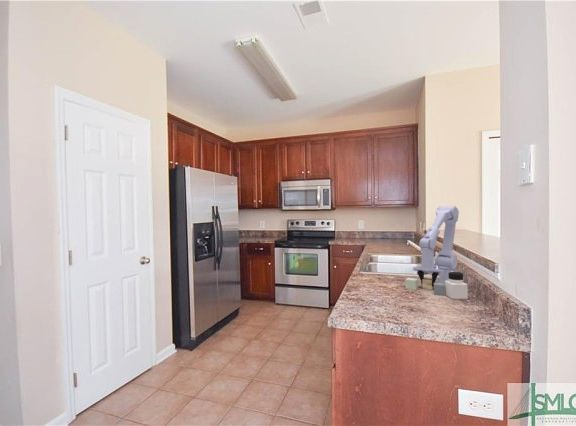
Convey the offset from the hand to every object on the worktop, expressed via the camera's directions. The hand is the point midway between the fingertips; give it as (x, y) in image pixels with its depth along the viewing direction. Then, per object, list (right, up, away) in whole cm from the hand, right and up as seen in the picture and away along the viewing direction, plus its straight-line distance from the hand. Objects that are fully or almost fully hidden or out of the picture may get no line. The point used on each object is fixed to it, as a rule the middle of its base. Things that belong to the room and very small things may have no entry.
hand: (428, 285), depth 150 cm
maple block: (0, -1, 0) cm, 1 cm away
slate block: (0, -2, -11) cm, 11 cm away
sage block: (-9, -2, +1) cm, 9 cm away
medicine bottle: (+5, -2, -16) cm, 17 cm away
